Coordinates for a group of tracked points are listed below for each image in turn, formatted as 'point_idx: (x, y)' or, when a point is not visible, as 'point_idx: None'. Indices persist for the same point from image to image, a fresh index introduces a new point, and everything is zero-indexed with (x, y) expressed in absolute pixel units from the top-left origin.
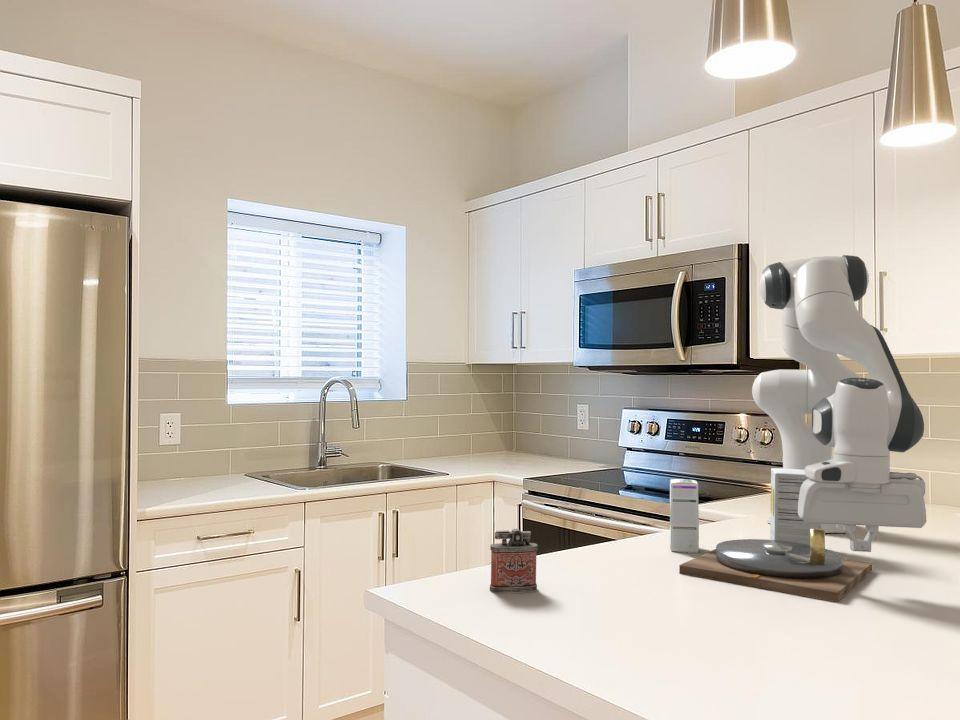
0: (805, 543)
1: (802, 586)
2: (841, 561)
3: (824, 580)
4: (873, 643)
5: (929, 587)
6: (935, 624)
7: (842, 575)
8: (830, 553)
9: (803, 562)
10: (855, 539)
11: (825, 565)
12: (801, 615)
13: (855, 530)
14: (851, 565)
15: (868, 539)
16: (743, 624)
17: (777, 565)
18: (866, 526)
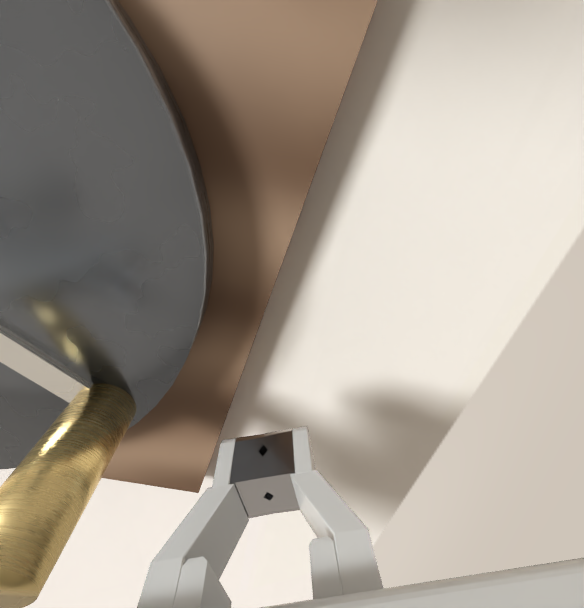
0: None
1: (109, 477)
2: (199, 316)
3: (158, 405)
4: (250, 597)
5: (515, 230)
6: (368, 516)
7: (213, 320)
8: (131, 150)
9: (52, 409)
10: (237, 532)
11: (141, 418)
12: (142, 550)
13: (229, 605)
14: (264, 85)
15: (307, 521)
16: (68, 600)
17: None
18: (313, 586)
